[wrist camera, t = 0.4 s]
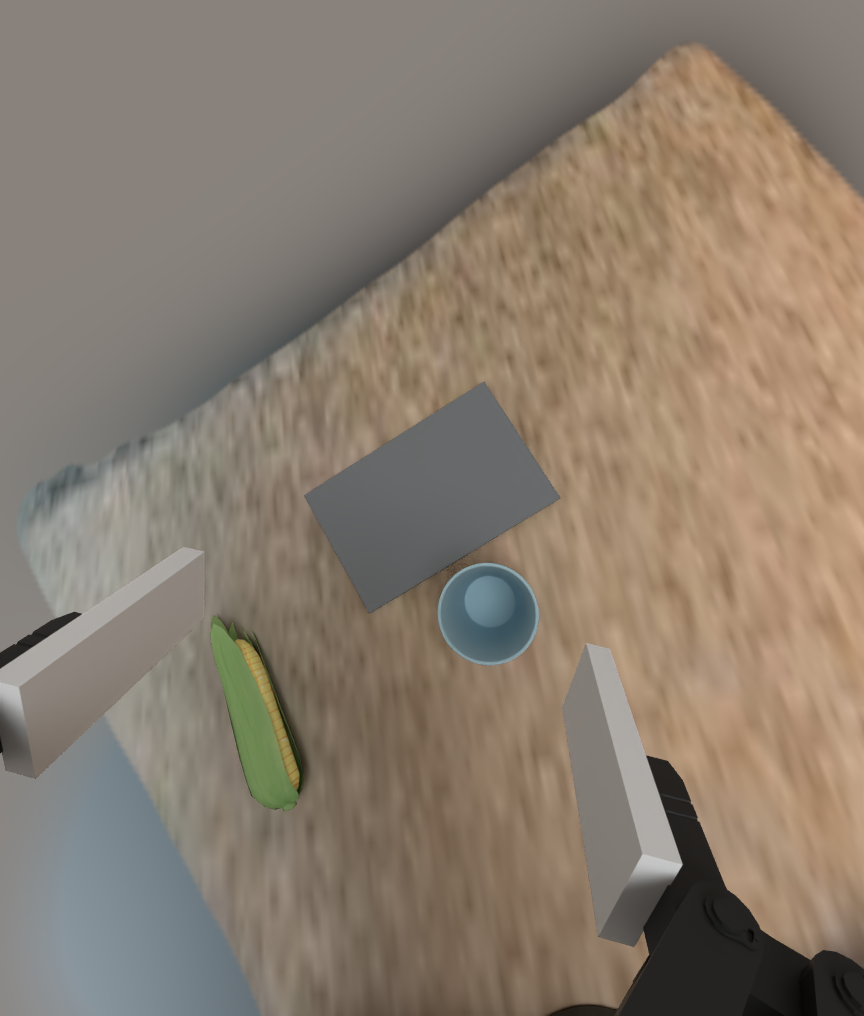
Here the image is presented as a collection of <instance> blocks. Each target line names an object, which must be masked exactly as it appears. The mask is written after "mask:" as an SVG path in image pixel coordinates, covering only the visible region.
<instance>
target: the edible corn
mask: <svg viewBox="0 0 864 1016" xmlns="http://www.w3.org/2000/svg"><path fill="white" fill-rule="evenodd" d="M243 631H244V629H243ZM252 632H253V631H252ZM244 634H245V637H246V639H247V642H248V643H247V642H246V641H245V640H240V639H238V637H237V634H236V631H235V628H234V625H233V622H232V624H231V627H230V629H229V632H228V631H227V629H226V628H225V626H224V625H223V623H222V622H221V621H220V620H219V619H218V618H217V617H216V616H215V615H213V618H212V622H211V633H210V636H211V642H212V643H211V645H212V649H213V653H214V659H215V662H216V665H217V669H218V672H219V675H220V679H221V682H222V685H223V689H224V693H225V698H226V702H227V707H228V711H229V716H230V720H231V725H232V729H233V733H234V737H235V741H236V746H237V750H238V754H239V758H240V761H241V765H242V768H243V772H244V775H245V778H246V782H247V784H248V787H249V790H250V793H251V796H252V797H254V798H255V799H256V800H257V801H258V802H259V803H261V804H262V805H263V806H264V807H267V808H270V809H275V810H276V809H279V808H283V811H288V810H290V809H292V808H293V807H295V806H296V804H297V803H296V800H297V799H298V797H299V794H300V792H301V790H302V785H303V770H302V765H301V759H300V756H299V753H298V750H297V747H296V744H295V742H294V739H293V736H292V734H291V731H290V728H289V726H288V723H287V721H286V718H285V716H284V713H283V711H282V708H281V705H280V703H279V700H278V697H277V695H276V692H275V689H274V687H273V684H272V681H271V679H270V676H269V673H268V671H267V668H266V665H265V662H264V660H263V657H262V654H261V651H260V649H259V646H258V643H257V640H256V638H255V635H254V633H253V635H254V638H255V641H256V644H257V647H258V650H259V653H260V656H261V658H260V656H259V655H258V653H257V652H256V651H255V648H254V646H253V644H252V642H251V641H250V639H249V637H248V636H247V634H246V632H245V631H244ZM261 659H262V661H263V663H262V661H261ZM263 664H264V665H263ZM264 667H265V668H264Z"/></svg>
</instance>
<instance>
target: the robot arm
mask: <svg viewBox="0 0 864 1016" xmlns="http://www.w3.org/2000/svg"><path fill="white" fill-rule="evenodd" d="M204 567H205V552H203V551H199V550H195V549H191V548H187V547H182V548H181V549H179V550H178V551H176V552H175V553H173V554H172V555H170V556H169V557H167V558H166V559H164V560H163V561H161V562H160V563H158V564H157V565H155V566H154V567H152V568H151V569H149V570H148V571H146V572H145V573H143V574H142V575H140V576H139V577H137V578H136V579H134V580H133V581H131V582H130V583H128V584H127V585H125V586H124V587H122V588H121V589H119V590H118V591H116V592H115V593H113V594H112V595H110V596H109V597H107V598H106V599H104V600H103V601H101V602H100V603H98V604H97V605H95V606H94V607H92V608H91V609H89V610H88V611H86V612H85V613H83V614H81V613H77V612H72V613H70V614H67V615H64V616H62V617H59V618H56V619H54V620H51V621H50V622H48V623H46V624H45V625H43V626H42V627H40V628H39V629H37V630H35V631H34V632H33V634H32V635H27V636H26V637H24V638H23V639H21V640H20V641H18V643H17V644H16V645H15V644H13V645H12V646H10V647H9V648H7V649H5V650H4V651H2V652H1V653H0V753H1V752H2V755H3V760H4V765H5V770H6V771H10V772H13V773H17V774H20V775H24V776H28V777H31V778H35V779H36V778H37V777H38V776H39V775H40V774H41V773H42V772H43V771H44V770H45V769H47V768H48V767H49V766H50V765H51V764H52V763H53V762H54V761H55V760H56V759H57V758H58V757H59V756H60V755H61V754H62V753H63V752H64V751H65V750H66V749H68V748H69V747H70V746H71V745H72V744H73V743H74V742H75V741H76V740H77V739H78V738H79V737H80V736H81V735H82V734H83V733H84V732H85V731H86V730H88V729H89V728H90V727H91V726H92V725H93V724H94V723H95V722H96V721H97V720H98V719H99V718H100V717H101V716H102V715H103V714H104V713H105V712H106V711H108V710H109V709H110V708H111V707H112V706H113V705H114V704H115V703H116V702H117V701H118V700H119V699H120V698H121V697H122V696H123V695H124V694H125V693H126V692H127V691H129V690H130V689H131V688H132V687H133V686H134V685H135V684H136V683H137V682H138V681H139V680H140V679H141V678H142V677H143V676H144V675H145V674H146V673H147V672H149V671H150V670H151V669H152V668H153V667H154V666H155V665H156V664H157V663H158V662H159V661H160V660H161V659H162V658H163V657H164V656H165V655H166V654H167V653H168V652H170V651H171V650H172V649H173V648H174V647H175V646H176V645H177V644H178V643H179V642H180V641H181V640H182V639H183V638H184V637H185V636H186V635H187V634H188V633H189V632H191V631H192V630H193V629H194V628H195V627H196V626H197V625H198V624H199V623H200V622H201V621H202V620H203V619H204ZM562 709H563V716H564V722H565V728H566V735H567V741H568V748H569V754H570V760H571V767H572V773H573V779H574V786H575V792H576V799H577V805H578V811H579V818H580V824H581V830H582V837H583V843H584V850H585V856H586V862H587V869H588V875H589V881H590V888H591V894H592V900H593V907H594V913H595V920H596V926H597V932H598V937H601V938H604V939H608V940H611V941H615V942H618V943H622V944H626V945H629V946H633V947H634V946H635V944H636V943H637V941H638V939H639V938H640V936H641V934H642V933H643V931H644V934H645V938H646V942H647V946H648V951H649V956H648V957H647V959H646V961H645V962H644V964H643V966H642V967H641V969H640V970H639V972H638V974H637V975H636V977H635V979H634V980H633V983H632V985H631V987H630V989H629V990H628V992H627V994H626V996H625V997H624V999H623V1001H622V1003H621V1004H620V1006H619V1008H618V1010H617V1011H616V1010H612V1009H608V1008H604V1007H596V1006H581V1007H574V1008H570V1009H566V1010H563V1011H560V1012H558V1013H556V1014H554V1015H552V1016H864V969H863V968H862V967H860V966H859V965H858V964H857V963H855V962H854V961H853V960H851V959H849V958H847V957H845V956H843V955H841V954H839V953H837V952H833V951H826V950H823V951H821V952H820V953H818V954H816V955H815V956H814V957H813V958H812V960H809V959H808V958H806V957H804V956H803V955H801V954H799V953H797V952H796V951H794V950H792V949H791V948H789V947H787V946H786V945H784V944H782V943H780V942H779V941H777V940H775V939H774V938H772V937H771V936H769V935H768V934H766V933H765V932H763V931H762V930H760V927H759V924H758V923H757V921H756V920H755V918H754V917H753V915H752V914H751V912H750V910H749V909H748V908H747V907H746V906H745V905H744V904H743V903H742V902H741V901H740V900H739V899H738V898H737V896H735V895H734V894H732V893H731V892H730V891H728V890H727V888H726V886H725V884H724V882H723V879H722V877H721V874H720V872H719V869H718V867H717V865H716V862H715V860H714V857H713V855H712V852H711V850H710V847H709V845H708V842H707V840H706V837H705V835H704V832H703V830H702V827H701V825H700V822H698V821H697V818H698V817H697V815H696V812H695V810H694V807H693V805H692V804H691V800H690V797H689V795H688V792H687V790H686V787H685V785H684V782H683V780H682V779H681V777H680V776H679V775H678V774H677V772H676V771H675V770H674V768H673V767H672V766H671V764H670V763H669V762H668V761H666V760H662V759H658V758H654V757H650V756H646V754H645V751H644V748H643V745H642V742H641V740H640V737H639V734H638V731H637V728H636V725H635V722H634V719H633V716H632V713H631V710H630V707H629V704H628V701H627V698H626V695H625V692H624V689H623V686H622V683H621V680H620V677H619V674H618V671H617V668H616V665H615V662H614V660H613V657H612V654H611V651H610V649H609V648H605V647H600V646H596V645H592V644H588V643H586V645H585V648H584V650H583V653H582V656H581V659H580V661H579V664H578V667H577V669H576V672H575V675H574V677H573V680H572V683H571V685H570V688H569V691H568V694H567V696H566V699H565V702H564V704H563V707H562Z"/></svg>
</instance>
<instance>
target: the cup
mask: <svg viewBox="0 0 864 1016" xmlns="http://www.w3.org/2000/svg"><path fill="white" fill-rule="evenodd" d="M538 621H539V609H538V604H537V600H536V597H535V595H534V592H533V591H532V589H531V587H530V586H529V584H528V583H527V582H526V581H525V580H524V578H523V577H522V576H520V575H519V574H518V573H517V572H515V571H514V570H512V569H510V568H508V567H506V566H503V565H499V564H495V563H479V564H474V565H471V566H468V567H466V568H464V569H462V570H460V571H459V572H457V573H456V574H455V575H454V576H453V577H452V578H451V579H450V580H449V581H448V582H447V584H446V585H445V587H444V589H443V591H442V593H441V596H440V599H439V603H438V622H439V627H440V630H441V632H442V635H443V637H444V639H445V640H446V642H447V643H448V645H449V646H450V647H451V648H452V649H453V650H454V651H455V652H456V653H457V654H458V655H460V656H461V657H463V658H464V659H466V660H468V661H470V662H473V663H476V664H481V665H498V664H503V663H506V662H509V661H511V660H513V659H515V658H516V657H518V656H519V655H521V654H522V653H523V652H524V651H525V650H526V649H527V648H528V646H529V645H530V643H531V642H532V640H533V638H534V636H535V634H536V631H537V627H538Z"/></svg>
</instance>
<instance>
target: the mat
mask: <svg viewBox="0 0 864 1016" xmlns="http://www.w3.org/2000/svg"><path fill="white" fill-rule="evenodd" d="M304 496H305V498H306V500H307V502H308V504H309V505H310V507H311V509H312V511H313V513H314V514H315V516H316V518H317V520H318V522H319V523H320V525H321V527H322V529H323V531H324V533H325V534H326V536H327V538H328V540H329V542H330V543H331V545H332V547H333V549H334V551H335V552H336V554H337V556H338V558H339V560H340V561H341V563H342V565H343V567H344V569H345V571H346V572H347V574H348V576H349V578H350V580H351V581H352V583H353V585H354V587H355V589H356V590H357V592H358V594H359V596H360V598H361V599H362V601H363V603H364V605H365V607H366V608H367V610H368V612H369V613H371V612H373V611H375V610H376V609H378V608H380V607H381V606H383V605H385V604H386V603H388V602H389V601H391V600H393V599H394V598H396V597H398V596H399V595H401V594H403V593H404V592H406V591H408V590H409V589H411V588H413V587H414V586H416V585H418V584H419V583H421V582H423V581H424V580H426V579H428V578H429V577H431V576H432V575H434V574H436V573H437V572H439V571H441V570H442V569H444V568H446V567H447V566H449V565H451V564H452V563H454V562H456V561H457V560H459V559H461V558H462V557H464V556H466V555H467V554H469V553H471V552H472V551H474V550H475V549H477V548H479V547H480V546H482V545H484V544H485V543H487V542H489V541H490V540H492V539H494V538H495V537H497V536H499V535H500V534H502V533H504V532H505V531H507V530H509V529H510V528H512V527H514V526H515V525H517V524H518V523H520V522H522V521H523V520H525V519H527V518H528V517H530V516H532V515H533V514H535V513H537V512H538V511H540V510H542V509H543V508H545V507H547V506H548V505H550V504H552V503H553V502H555V501H557V500H558V499H560V496H559V495H558V493H557V492H556V490H555V489H554V487H553V486H552V484H551V483H550V481H549V480H548V478H547V477H546V475H545V474H544V472H543V471H542V469H541V467H540V466H539V464H538V463H537V461H536V460H535V458H534V457H533V455H532V454H531V452H530V451H529V449H528V448H527V446H526V445H525V443H524V442H523V440H522V438H521V437H520V435H519V434H518V432H517V431H516V429H515V428H514V426H513V425H512V423H511V422H510V420H509V419H508V417H507V416H506V414H505V412H504V411H503V409H502V408H501V406H500V405H499V403H498V402H497V400H496V399H495V397H494V396H493V394H492V393H491V391H490V390H489V388H488V387H487V385H486V383H485V382H482V383H481V384H479V385H478V386H476V387H475V388H473V389H471V390H470V391H468V392H467V393H465V394H464V395H462V396H460V397H459V398H457V399H456V400H454V401H452V402H451V403H449V404H448V405H446V406H445V407H443V408H441V409H440V410H438V411H437V412H435V413H434V414H432V415H430V416H429V417H427V418H426V419H424V420H422V421H421V422H419V423H418V424H416V425H415V426H413V427H411V428H410V429H408V430H407V431H405V432H404V433H402V434H400V435H399V436H397V437H396V438H394V439H392V440H391V441H389V442H388V443H386V444H385V445H383V446H381V447H380V448H378V449H377V450H375V451H374V452H372V453H370V454H369V455H367V456H366V457H364V458H362V459H361V460H359V461H358V462H356V463H355V464H353V465H351V466H350V467H348V468H347V469H345V470H344V471H342V472H340V473H339V474H337V475H336V476H334V477H332V478H331V479H329V480H328V481H326V482H325V483H323V484H321V485H320V486H318V487H317V488H315V489H314V490H312V491H310V492H309V493H307V494H306V495H304Z"/></svg>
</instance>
